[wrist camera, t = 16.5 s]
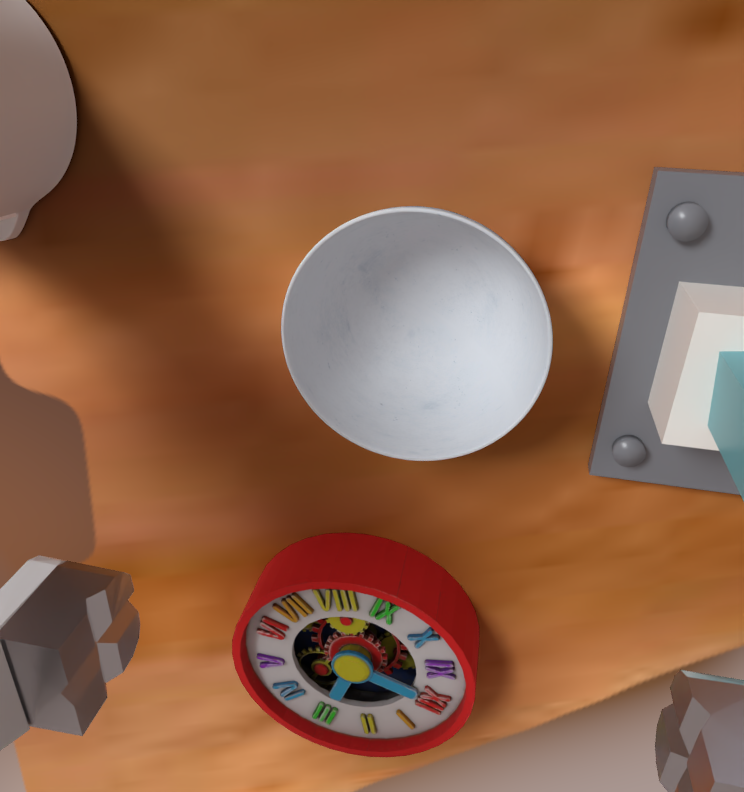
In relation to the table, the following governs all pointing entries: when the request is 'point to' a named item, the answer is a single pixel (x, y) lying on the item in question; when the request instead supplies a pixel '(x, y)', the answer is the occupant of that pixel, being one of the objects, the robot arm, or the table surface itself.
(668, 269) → the stack base
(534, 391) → the chinaware
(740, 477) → the teal brick
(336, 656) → the toy clock
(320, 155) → the table surface
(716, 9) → the table surface
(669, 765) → the robot arm
